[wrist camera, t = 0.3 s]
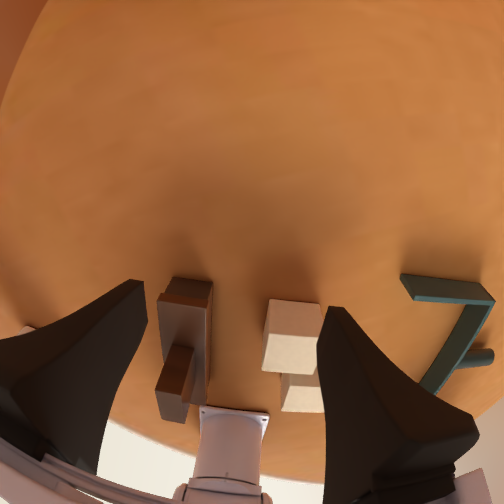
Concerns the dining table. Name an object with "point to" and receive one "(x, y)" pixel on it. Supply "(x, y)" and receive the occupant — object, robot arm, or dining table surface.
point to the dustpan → (463, 332)
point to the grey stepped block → (184, 346)
